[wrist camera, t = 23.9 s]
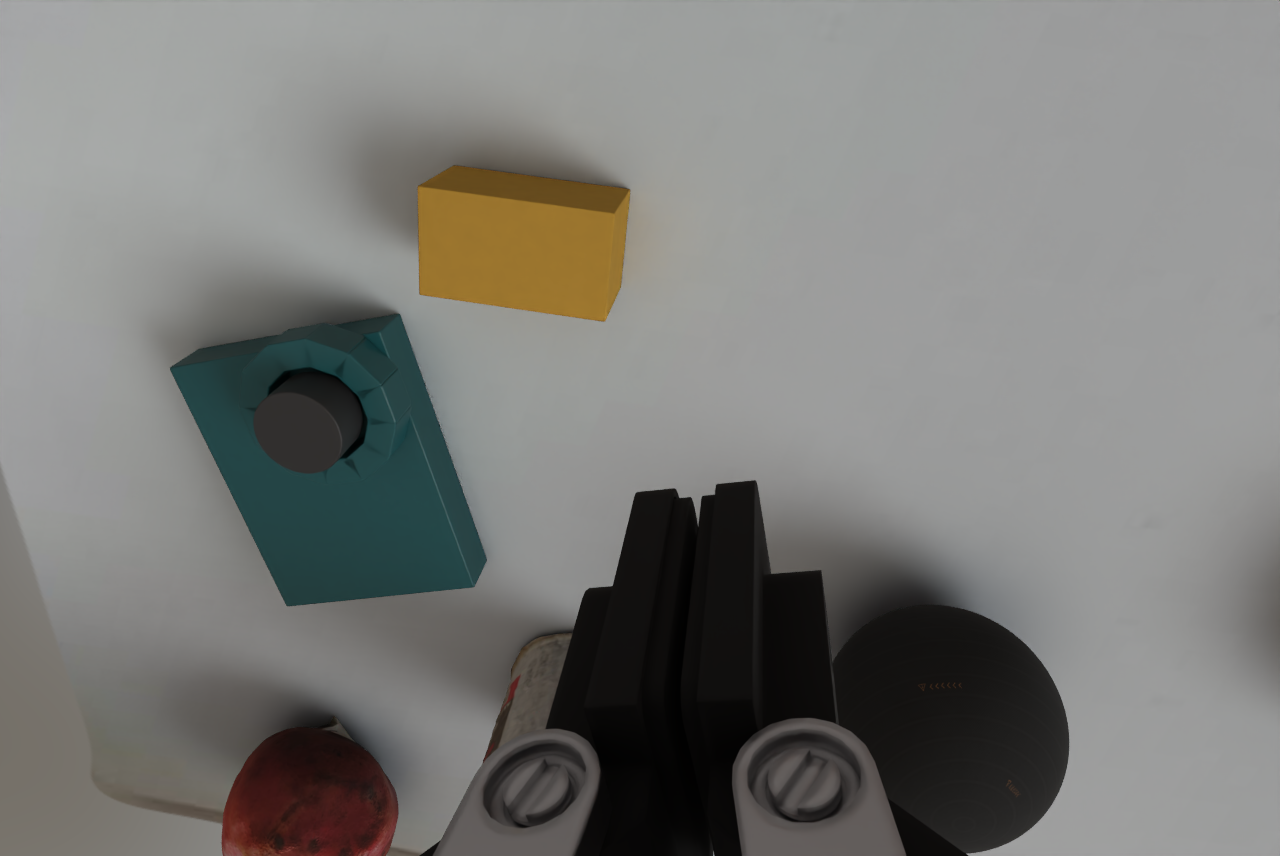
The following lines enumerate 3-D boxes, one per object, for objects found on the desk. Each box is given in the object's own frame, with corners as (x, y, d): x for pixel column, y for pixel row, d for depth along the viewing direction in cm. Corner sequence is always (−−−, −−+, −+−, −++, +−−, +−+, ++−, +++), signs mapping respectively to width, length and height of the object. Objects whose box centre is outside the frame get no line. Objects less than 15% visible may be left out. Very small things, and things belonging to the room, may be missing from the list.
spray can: (561, 596, 42) (421, 1032, 25) (696, 676, 43) (656, 1144, 26) (483, 692, 46) (312, 1131, 28) (609, 764, 47) (522, 1225, 30)
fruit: (348, 675, 47) (253, 835, 38) (450, 786, 50) (384, 957, 41) (234, 724, 50) (121, 883, 41) (337, 826, 53) (253, 994, 44)
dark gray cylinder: (264, 377, 34) (237, 399, 32) (344, 364, 34) (321, 385, 32) (298, 454, 36) (274, 479, 34) (375, 443, 35) (355, 468, 33)
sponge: (453, 264, 35) (419, 295, 31) (453, 164, 33) (417, 186, 29) (620, 288, 34) (605, 322, 31) (630, 188, 33) (615, 213, 29)
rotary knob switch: (190, 333, 38) (132, 368, 34) (399, 295, 36) (360, 328, 32) (307, 579, 44) (267, 631, 40) (492, 559, 42) (468, 612, 38)
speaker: (911, 749, 44) (950, 940, 35) (771, 642, 42) (774, 816, 33) (1075, 646, 40) (1165, 833, 31) (928, 521, 38) (981, 684, 29)
